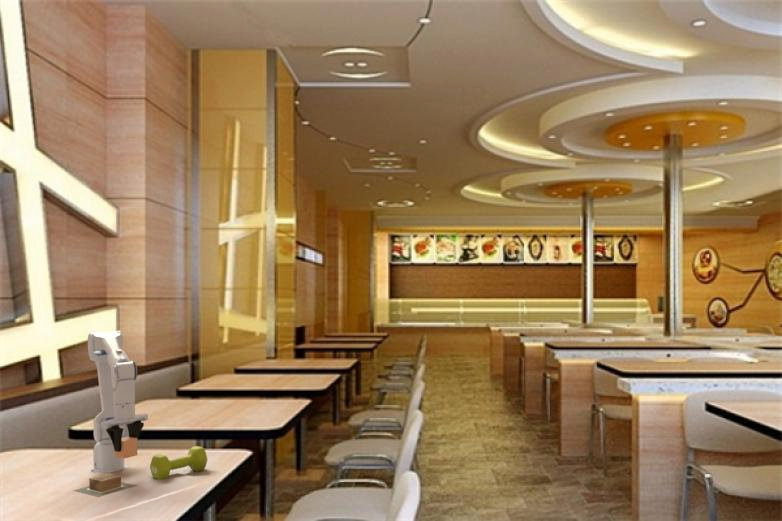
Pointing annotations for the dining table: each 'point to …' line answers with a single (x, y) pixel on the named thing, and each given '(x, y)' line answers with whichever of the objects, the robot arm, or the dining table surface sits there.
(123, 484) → the grey square base plate
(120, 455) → the top block
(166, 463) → the dumbbell
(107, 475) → the base block
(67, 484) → the dining table surface
